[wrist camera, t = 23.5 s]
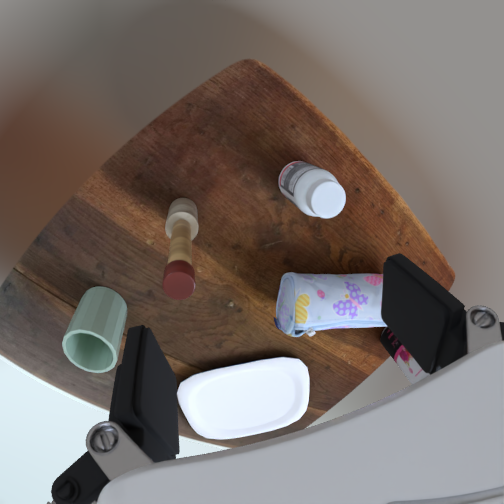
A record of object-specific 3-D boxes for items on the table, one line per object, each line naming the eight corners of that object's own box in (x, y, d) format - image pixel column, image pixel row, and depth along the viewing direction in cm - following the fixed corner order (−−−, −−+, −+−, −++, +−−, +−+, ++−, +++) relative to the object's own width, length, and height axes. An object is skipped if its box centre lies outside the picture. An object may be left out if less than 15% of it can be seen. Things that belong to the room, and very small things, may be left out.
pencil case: (266, 311, 46) (283, 352, 38) (275, 260, 43) (296, 297, 34) (377, 306, 51) (404, 337, 43) (392, 263, 47) (425, 291, 39)
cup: (73, 292, 39) (52, 335, 30) (115, 281, 39) (99, 325, 30) (94, 330, 42) (80, 375, 33) (134, 321, 43) (126, 368, 34)
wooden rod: (165, 202, 36) (147, 271, 20) (193, 194, 37) (195, 258, 21) (173, 228, 38) (164, 311, 22) (200, 220, 38) (209, 300, 22)
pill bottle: (322, 189, 40) (357, 211, 31) (287, 207, 40) (315, 234, 31) (307, 153, 37) (342, 165, 28) (270, 171, 37) (296, 188, 28)
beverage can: (377, 329, 54) (418, 381, 40) (404, 313, 54) (448, 361, 40) (380, 348, 57) (416, 398, 43) (405, 333, 57) (444, 380, 43)
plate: (165, 370, 48) (165, 377, 47) (307, 342, 51) (310, 348, 50) (199, 438, 59) (200, 444, 58) (305, 416, 62) (308, 421, 61)
